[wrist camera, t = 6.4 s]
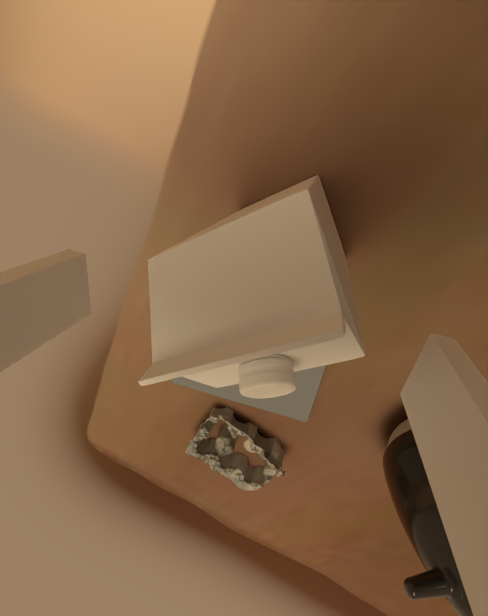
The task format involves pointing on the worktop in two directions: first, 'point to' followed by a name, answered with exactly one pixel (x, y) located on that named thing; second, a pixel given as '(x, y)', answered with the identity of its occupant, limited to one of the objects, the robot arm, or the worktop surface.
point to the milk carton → (255, 298)
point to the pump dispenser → (422, 523)
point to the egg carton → (237, 463)
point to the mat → (286, 405)
